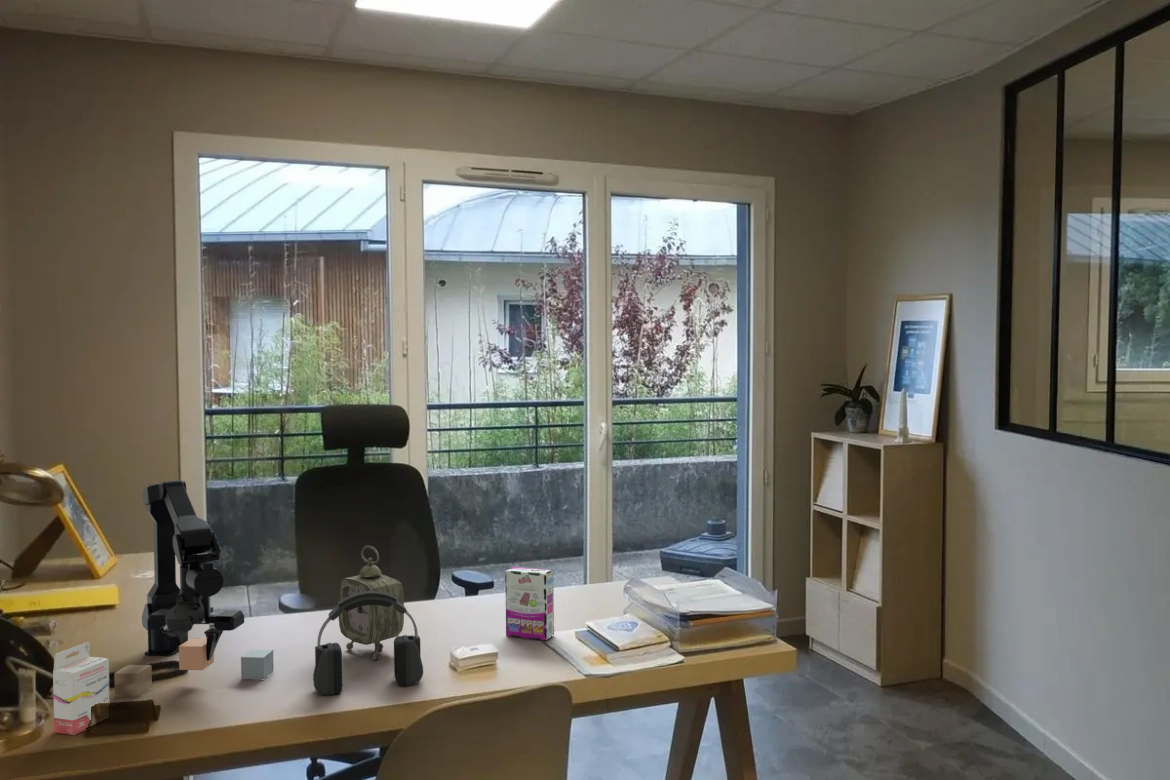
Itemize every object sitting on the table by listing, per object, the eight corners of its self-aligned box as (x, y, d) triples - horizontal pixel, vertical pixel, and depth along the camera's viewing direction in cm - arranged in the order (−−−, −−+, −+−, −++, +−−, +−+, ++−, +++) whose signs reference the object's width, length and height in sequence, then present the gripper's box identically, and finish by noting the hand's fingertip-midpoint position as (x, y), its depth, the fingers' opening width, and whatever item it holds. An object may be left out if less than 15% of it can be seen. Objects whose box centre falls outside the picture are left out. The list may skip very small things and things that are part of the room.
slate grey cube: (241, 680, 195) (240, 657, 195) (251, 671, 200) (250, 649, 200) (264, 680, 195) (263, 657, 195) (273, 672, 200) (273, 649, 200)
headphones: (314, 699, 185) (312, 601, 184) (312, 688, 191) (311, 593, 190) (424, 685, 192) (423, 591, 191) (420, 675, 198) (418, 583, 197)
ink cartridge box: (74, 736, 167) (72, 656, 166) (53, 733, 168) (50, 654, 168) (111, 718, 175) (109, 642, 175) (90, 715, 177) (88, 640, 176)
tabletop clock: (338, 650, 214) (336, 544, 213) (371, 641, 221) (369, 538, 220) (374, 664, 205) (372, 553, 204) (407, 654, 211) (406, 547, 210)
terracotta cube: (179, 669, 190) (178, 646, 190) (191, 661, 195) (190, 638, 195) (202, 670, 190) (202, 646, 190) (214, 662, 195) (213, 638, 195)
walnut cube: (114, 697, 186) (114, 673, 186) (128, 688, 191) (128, 664, 191) (138, 698, 186) (138, 673, 185) (152, 688, 191) (151, 665, 190)
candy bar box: (555, 635, 225) (554, 569, 224) (546, 641, 220) (546, 574, 219) (514, 630, 229) (513, 565, 228) (504, 636, 224) (504, 570, 223)
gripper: (130, 596, 185) (132, 672, 185) (220, 597, 183) (222, 674, 184) (159, 582, 196) (161, 654, 196) (244, 583, 194) (246, 655, 195)
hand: (196, 659), depth 193 cm, fingers closed on terracotta cube, 5 cm apart
